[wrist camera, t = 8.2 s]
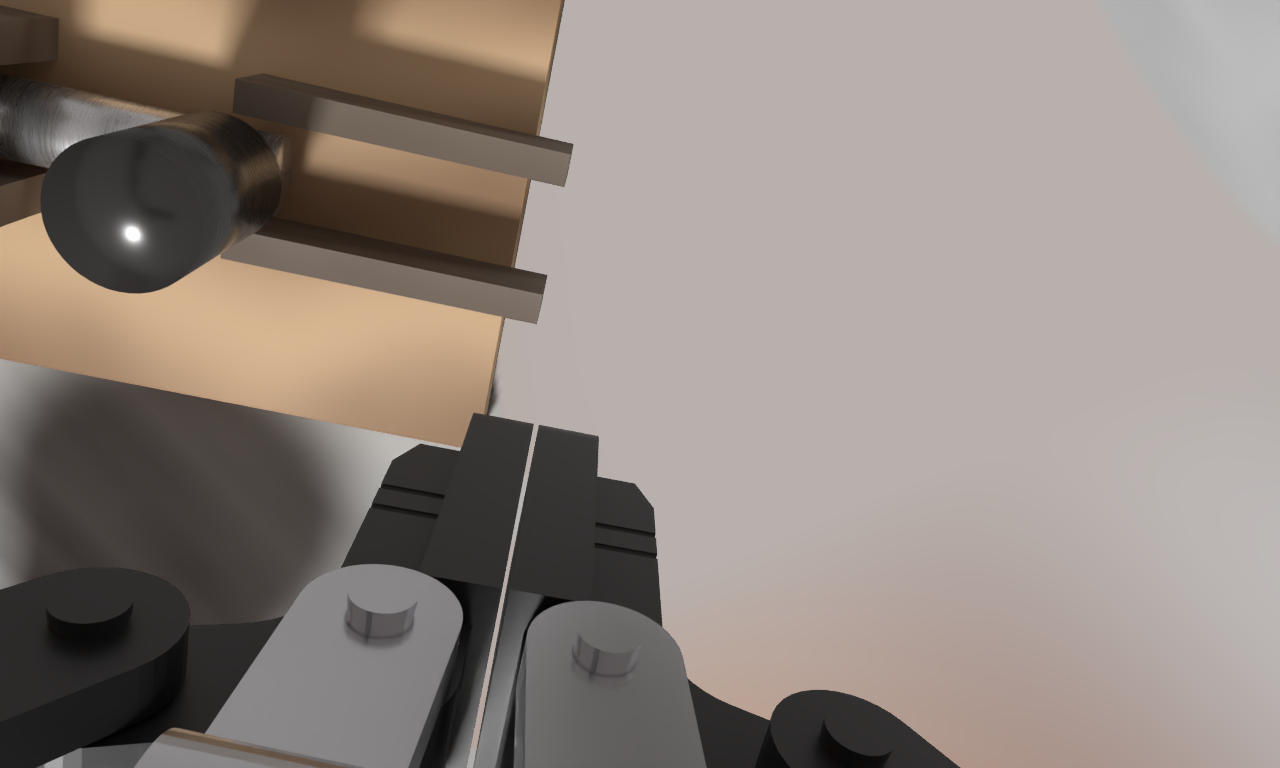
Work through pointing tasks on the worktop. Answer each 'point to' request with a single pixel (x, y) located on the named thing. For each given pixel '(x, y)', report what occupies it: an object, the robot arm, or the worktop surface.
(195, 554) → the worktop surface
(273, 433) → the worktop surface
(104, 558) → the worktop surface
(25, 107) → the bolt
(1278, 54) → the worktop surface
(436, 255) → the lock plate
